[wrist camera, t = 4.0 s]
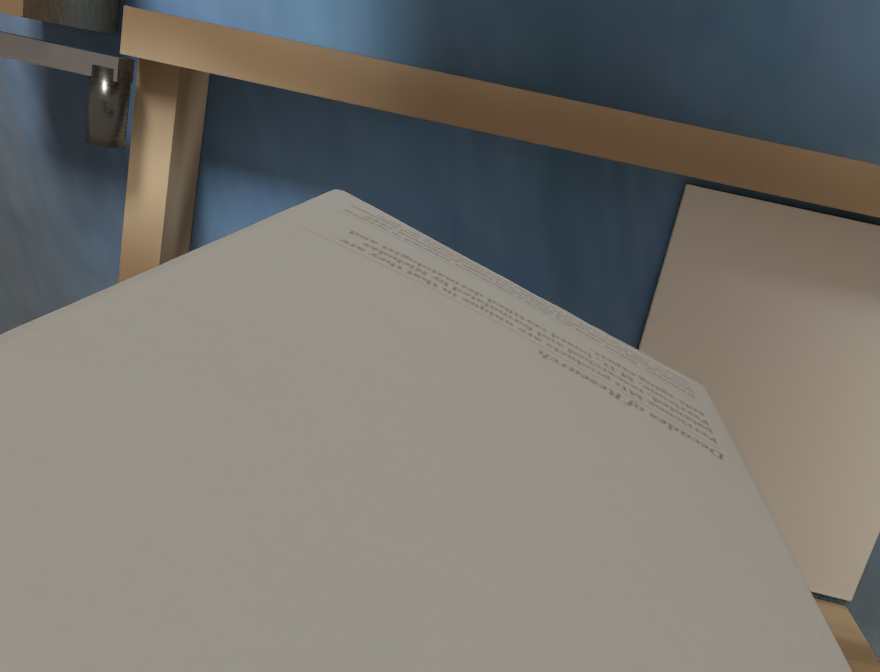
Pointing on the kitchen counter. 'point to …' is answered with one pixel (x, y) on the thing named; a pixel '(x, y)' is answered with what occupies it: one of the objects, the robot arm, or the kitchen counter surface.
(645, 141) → the bay
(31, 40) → the winch
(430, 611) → the supplement box
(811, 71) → the kitchen counter surface
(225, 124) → the kitchen counter surface
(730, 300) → the front mat
